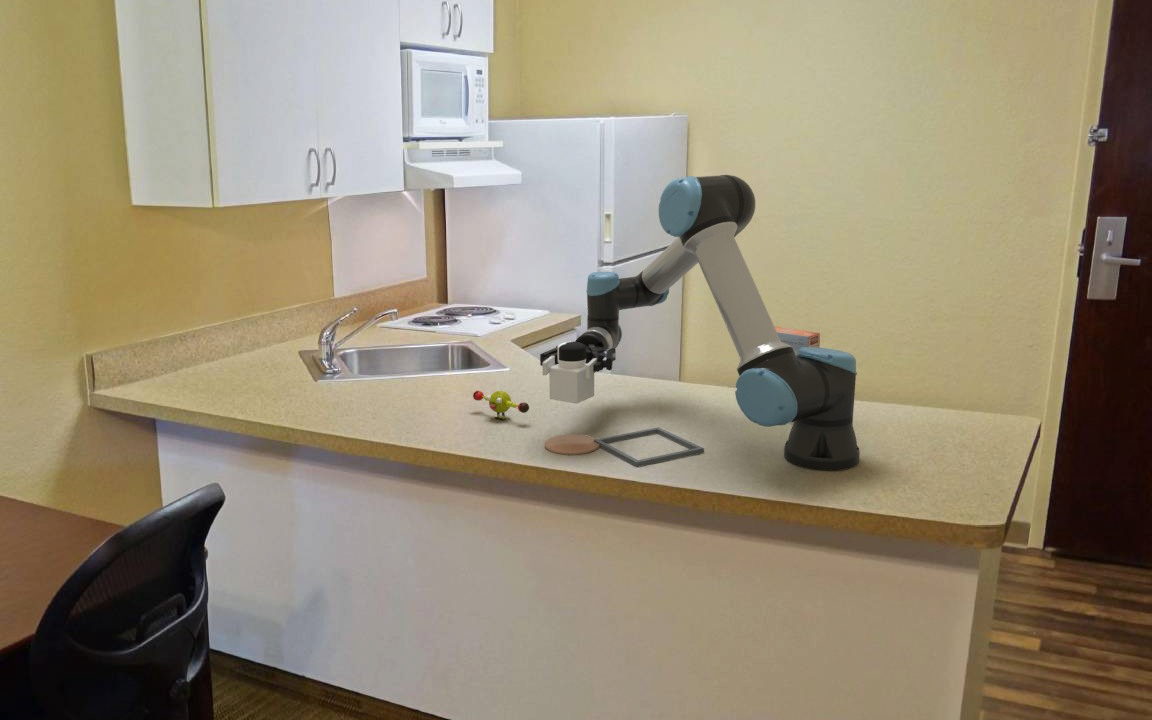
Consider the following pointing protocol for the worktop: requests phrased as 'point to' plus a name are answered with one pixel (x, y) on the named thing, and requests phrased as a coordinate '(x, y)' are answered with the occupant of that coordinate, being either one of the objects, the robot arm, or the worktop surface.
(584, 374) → the medicine bottle
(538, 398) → the worktop surface
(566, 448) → the coaster
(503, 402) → the toy figure
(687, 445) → the gray square frame
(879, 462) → the worktop surface
